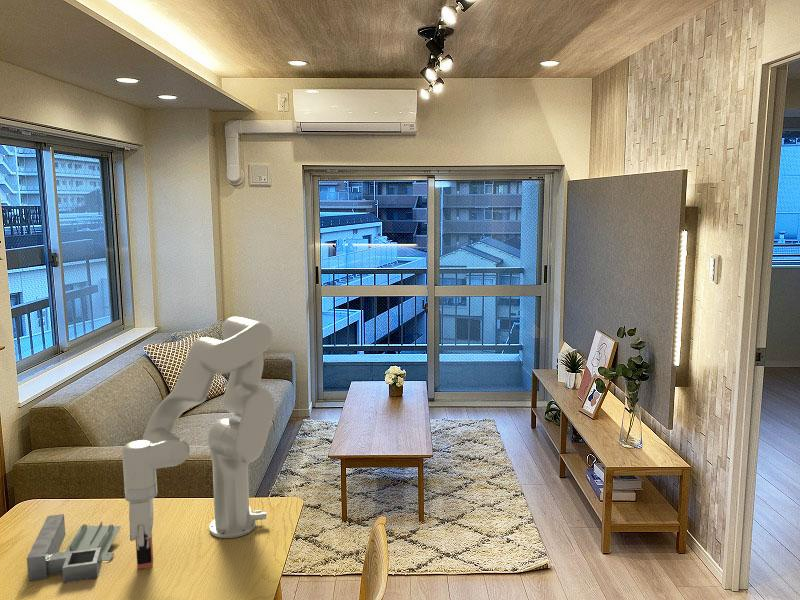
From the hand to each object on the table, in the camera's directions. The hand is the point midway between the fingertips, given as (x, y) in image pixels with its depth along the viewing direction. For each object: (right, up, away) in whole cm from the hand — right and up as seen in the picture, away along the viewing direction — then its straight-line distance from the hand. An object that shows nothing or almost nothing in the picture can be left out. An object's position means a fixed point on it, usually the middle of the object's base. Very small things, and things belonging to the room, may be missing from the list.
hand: (145, 557), depth 164 cm
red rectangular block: (0, -2, 0) cm, 2 cm away
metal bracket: (-17, -1, +8) cm, 19 cm away
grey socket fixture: (-21, -1, +4) cm, 21 cm away
